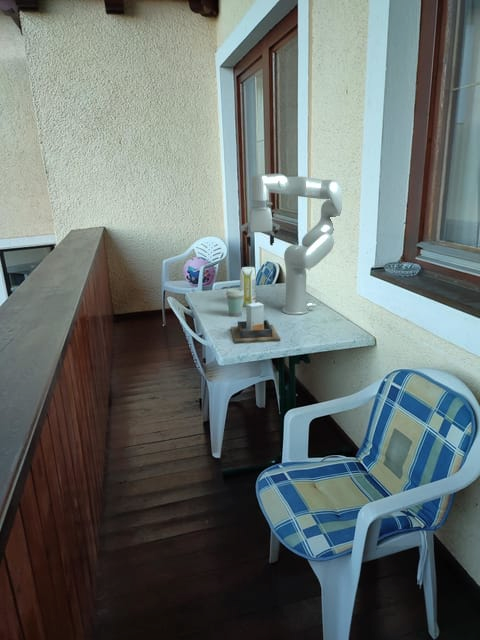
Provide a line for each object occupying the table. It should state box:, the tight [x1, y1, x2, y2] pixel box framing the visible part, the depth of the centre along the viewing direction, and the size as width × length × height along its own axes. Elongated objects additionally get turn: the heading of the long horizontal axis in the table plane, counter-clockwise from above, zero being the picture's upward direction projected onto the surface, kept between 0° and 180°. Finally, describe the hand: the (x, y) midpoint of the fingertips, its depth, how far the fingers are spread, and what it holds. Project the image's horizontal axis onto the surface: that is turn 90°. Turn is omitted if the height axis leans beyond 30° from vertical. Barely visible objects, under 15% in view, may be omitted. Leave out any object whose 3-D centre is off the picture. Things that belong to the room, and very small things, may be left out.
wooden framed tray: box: [230, 319, 281, 345], centre depth 181 cm, size 18×18×4 cm
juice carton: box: [239, 266, 257, 308], centre depth 221 cm, size 8×9×19 cm
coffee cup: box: [225, 288, 244, 318], centre depth 206 cm, size 8×9×12 cm
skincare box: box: [245, 301, 265, 330], centre depth 179 cm, size 6×4×12 cm
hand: (260, 245), depth 192 cm, fingers open, 9 cm apart
